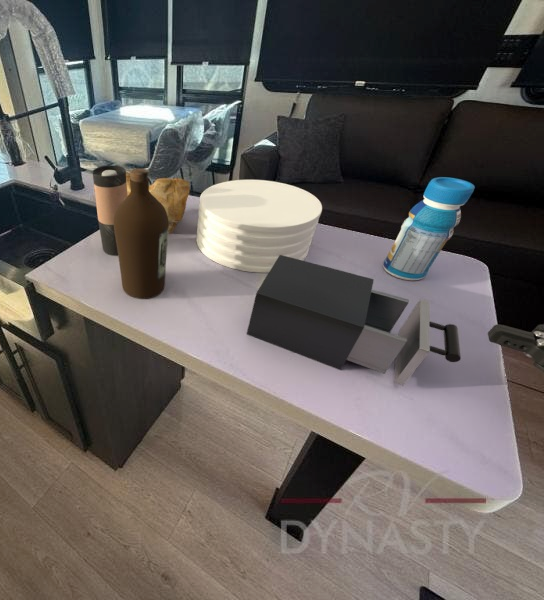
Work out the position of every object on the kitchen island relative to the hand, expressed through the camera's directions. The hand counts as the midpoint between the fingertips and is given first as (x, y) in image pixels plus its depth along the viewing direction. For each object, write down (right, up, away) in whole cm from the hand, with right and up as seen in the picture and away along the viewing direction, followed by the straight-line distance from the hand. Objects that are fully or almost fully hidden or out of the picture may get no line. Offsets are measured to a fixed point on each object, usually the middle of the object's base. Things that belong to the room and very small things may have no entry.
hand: (491, 332), depth 45 cm
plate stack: (-20, +20, +41) cm, 50 cm away
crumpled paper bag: (-43, +27, +52) cm, 73 cm away
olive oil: (-48, +7, +28) cm, 56 cm away
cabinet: (-19, -1, +16) cm, 25 cm away
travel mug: (-55, +18, +41) cm, 71 cm away
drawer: (-9, -4, +11) cm, 15 cm away
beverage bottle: (+11, +11, +29) cm, 33 cm away
